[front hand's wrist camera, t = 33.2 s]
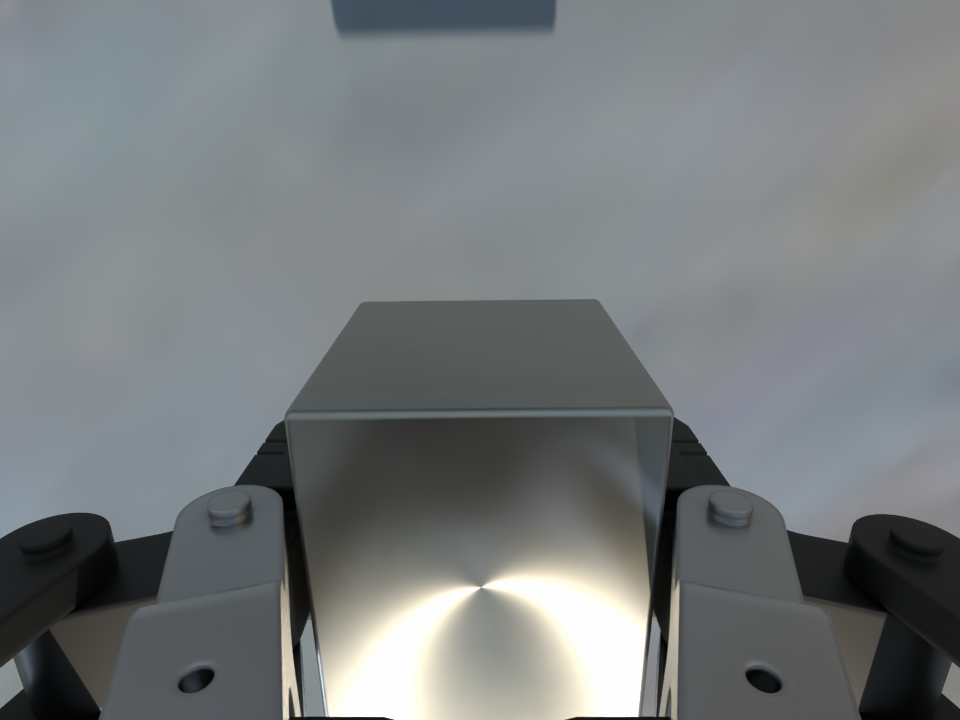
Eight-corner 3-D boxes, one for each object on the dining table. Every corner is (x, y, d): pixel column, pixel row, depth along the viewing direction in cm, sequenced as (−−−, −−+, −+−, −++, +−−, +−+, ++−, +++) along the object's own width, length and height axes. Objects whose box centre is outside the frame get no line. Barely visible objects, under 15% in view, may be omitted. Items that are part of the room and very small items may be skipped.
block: (586, 519, 13) (643, 727, 9) (378, 521, 13) (324, 729, 9) (599, 297, 11) (677, 409, 7) (359, 300, 12) (280, 413, 7)
